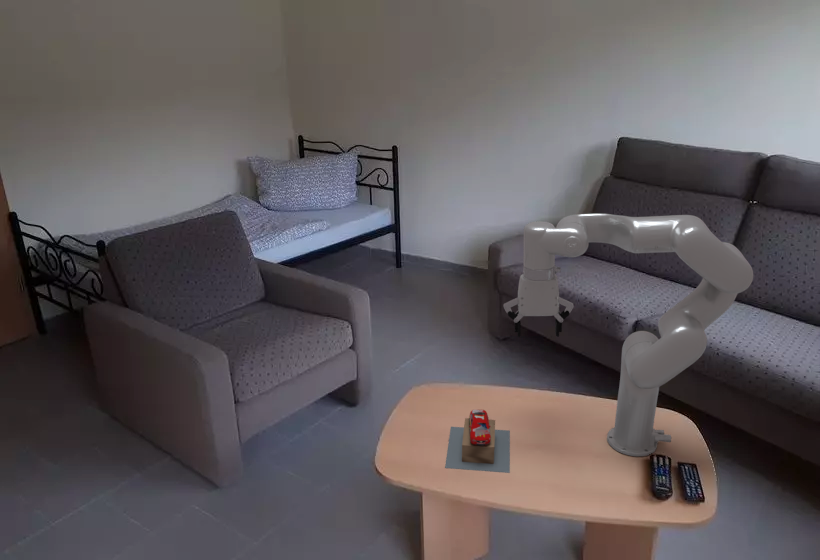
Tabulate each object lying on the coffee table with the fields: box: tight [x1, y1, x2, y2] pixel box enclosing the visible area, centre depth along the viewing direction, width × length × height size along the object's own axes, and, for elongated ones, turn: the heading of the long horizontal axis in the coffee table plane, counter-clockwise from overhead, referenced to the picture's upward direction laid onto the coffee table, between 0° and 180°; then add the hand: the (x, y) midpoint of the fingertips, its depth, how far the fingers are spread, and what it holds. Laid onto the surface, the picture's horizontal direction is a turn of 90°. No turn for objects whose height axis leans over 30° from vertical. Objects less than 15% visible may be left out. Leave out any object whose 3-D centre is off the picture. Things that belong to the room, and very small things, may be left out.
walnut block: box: [462, 417, 496, 464], centre depth 173 cm, size 8×12×5 cm, turn 172°
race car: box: [468, 409, 491, 446], centre depth 171 cm, size 13×5×4 cm, turn 176°
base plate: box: [444, 426, 511, 474], centre depth 174 cm, size 16×18×1 cm
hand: (537, 334), depth 171 cm, fingers open, 9 cm apart
